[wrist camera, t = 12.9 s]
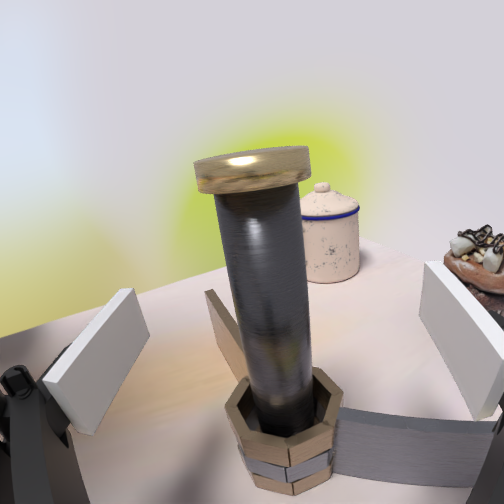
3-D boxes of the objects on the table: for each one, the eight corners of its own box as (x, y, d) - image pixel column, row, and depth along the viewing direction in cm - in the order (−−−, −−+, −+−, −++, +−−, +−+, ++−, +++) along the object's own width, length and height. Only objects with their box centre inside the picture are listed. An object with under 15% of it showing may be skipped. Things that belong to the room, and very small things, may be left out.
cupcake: (522, 320, 23) (542, 228, 19) (488, 370, 19) (519, 260, 16) (455, 291, 31) (464, 207, 28) (409, 327, 27) (418, 229, 24)
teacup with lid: (325, 251, 48) (319, 175, 44) (374, 266, 41) (372, 180, 37) (264, 279, 42) (251, 192, 38) (312, 303, 35) (304, 200, 31)
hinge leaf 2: (229, 475, 16) (207, 424, 14) (269, 415, 21) (259, 356, 19) (503, 518, 8) (555, 470, 6) (506, 445, 12) (543, 386, 10)
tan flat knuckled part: (193, 351, 29) (177, 299, 27) (248, 333, 31) (238, 281, 29) (267, 507, 14) (253, 463, 12) (352, 466, 15) (362, 411, 13)
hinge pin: (250, 448, 18) (184, 162, 12) (303, 426, 19) (276, 146, 13) (275, 491, 15) (209, 165, 8) (333, 464, 16) (331, 146, 10)
